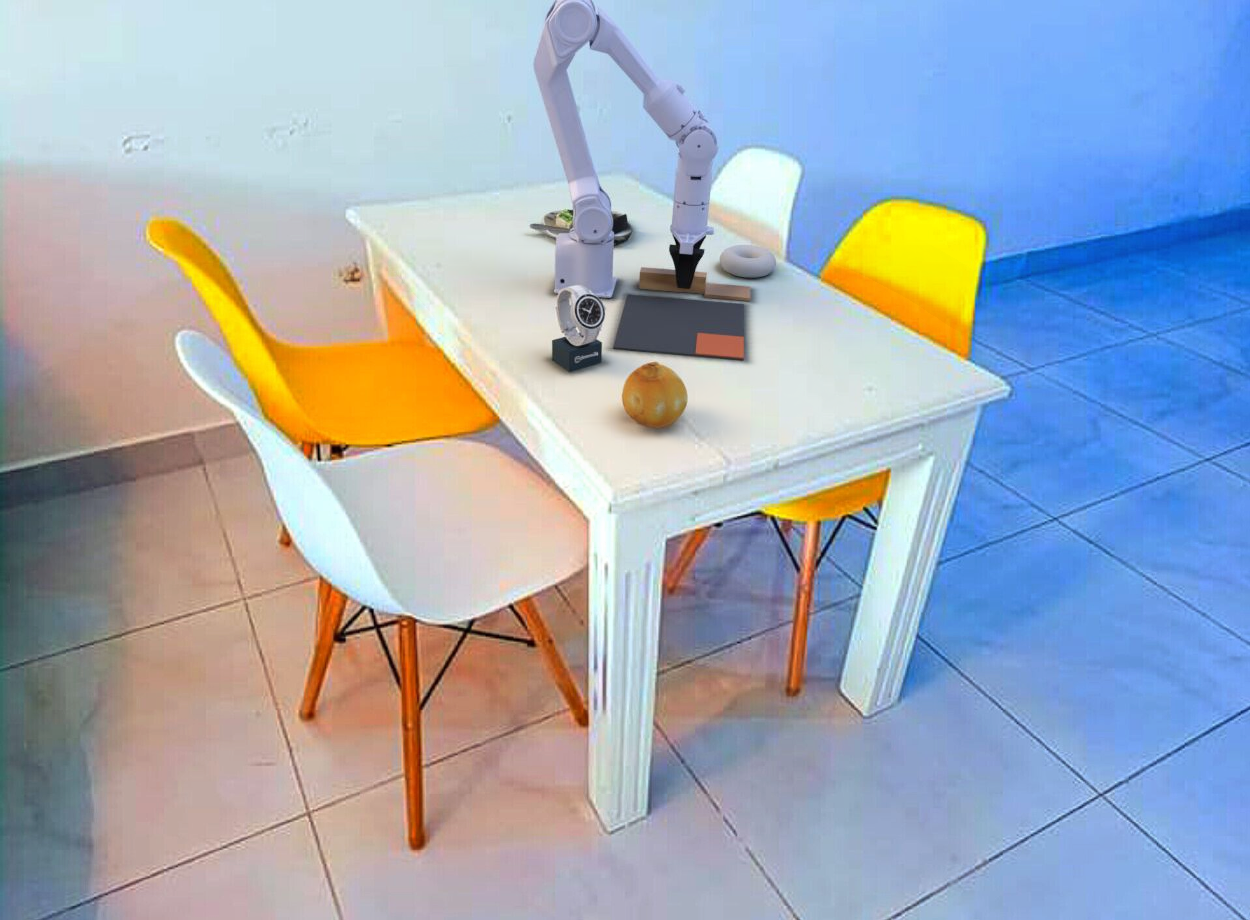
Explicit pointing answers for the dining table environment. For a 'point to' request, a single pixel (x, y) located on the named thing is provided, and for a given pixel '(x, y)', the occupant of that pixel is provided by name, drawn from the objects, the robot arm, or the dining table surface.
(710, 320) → the corner mat
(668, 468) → the dining table surface
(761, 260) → the donut
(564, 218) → the salad plate
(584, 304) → the watch
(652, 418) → the fruit
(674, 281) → the spatula
